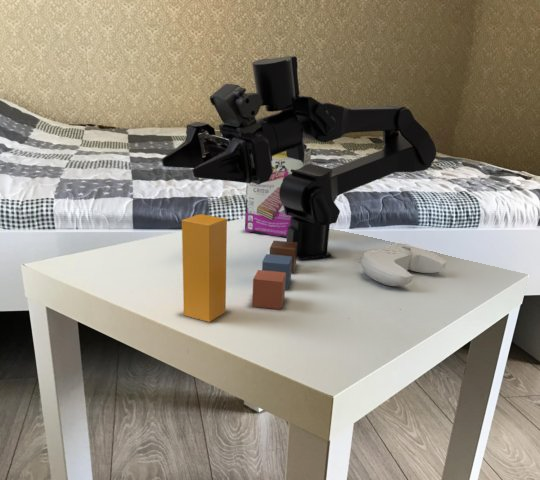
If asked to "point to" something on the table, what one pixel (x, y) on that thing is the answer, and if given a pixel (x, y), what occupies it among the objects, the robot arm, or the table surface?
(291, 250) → the cube
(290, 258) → the cube
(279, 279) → the cube
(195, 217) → the tall block
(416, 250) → the game controller
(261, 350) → the table surface
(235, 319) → the table surface
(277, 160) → the candy bar box
